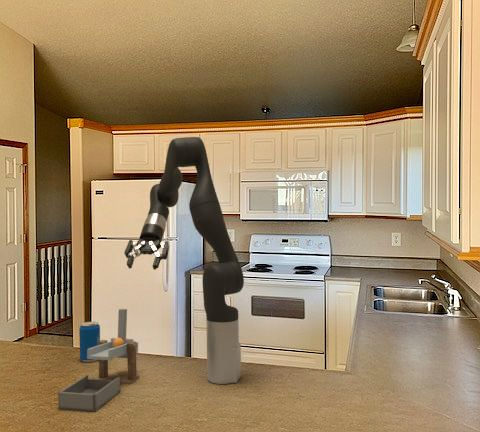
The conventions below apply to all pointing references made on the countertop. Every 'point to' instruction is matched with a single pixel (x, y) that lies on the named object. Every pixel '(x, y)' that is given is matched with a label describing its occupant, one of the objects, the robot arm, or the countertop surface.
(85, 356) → the beverage can
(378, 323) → the countertop surface
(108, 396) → the shallow gray tray
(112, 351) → the chute
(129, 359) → the stand
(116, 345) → the ball
